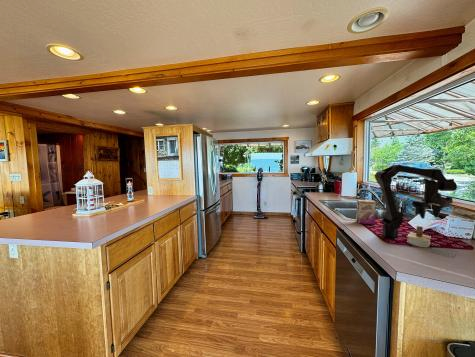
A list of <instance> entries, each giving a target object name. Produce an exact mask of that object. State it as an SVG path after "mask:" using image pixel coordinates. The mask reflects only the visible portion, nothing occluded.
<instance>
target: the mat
mask: <svg viewBox="0 0 475 357" xmlns="http://www.w3.org/2000/svg"><path fill="white" fill-rule="evenodd" d="M430 253H431V254H435V255H440V256H444V257H447V258H452V259H456V254H457V253H456V252H454V251H449V250H445V249H441V248H436V247H432V249H431V250H430Z"/></svg>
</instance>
